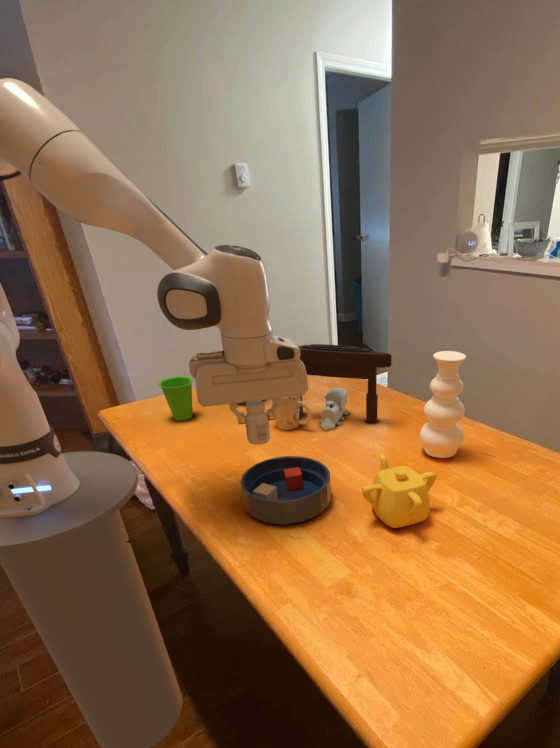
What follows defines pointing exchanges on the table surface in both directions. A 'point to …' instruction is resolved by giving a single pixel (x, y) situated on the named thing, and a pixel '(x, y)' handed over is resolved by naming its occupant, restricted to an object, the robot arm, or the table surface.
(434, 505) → the table surface
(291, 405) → the mug
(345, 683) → the table surface
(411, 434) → the table surface
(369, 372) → the stool
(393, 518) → the teapot
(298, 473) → the red block
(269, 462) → the bowl
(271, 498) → the cream block
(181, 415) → the cup
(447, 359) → the vase
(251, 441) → the pill bottle
